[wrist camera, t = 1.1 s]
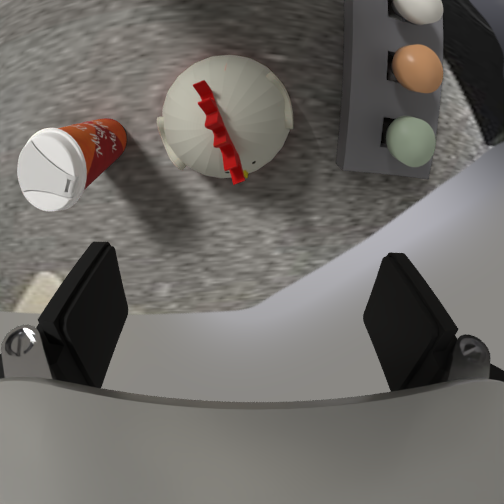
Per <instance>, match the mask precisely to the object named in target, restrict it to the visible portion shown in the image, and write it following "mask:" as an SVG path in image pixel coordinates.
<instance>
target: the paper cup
mask: <svg viewBox="0 0 504 504" xmlns="http://www.w3.org/2000/svg"><path fill="white" fill-rule="evenodd" d="M126 142H127V137H126V133H125V130H124V128H123V127H122V125H121V124H120V123H119V122H117V121H115V120H113V119H98V120H93V121H88V122H83V123H79V124H75V125H70V126H66V127H62V128H58V129H57V128H45V129H42V130H40V131H38V132H36V133H35V134H34V135H33V136H32V137H31V138H30V139H29V140H28V142H27V144H26V145H25V146H24V148H23V149H22V151H21V153H20V155H19V160H18V168H17V174H18V180H19V184H20V187H21V189H22V192H23V194H24V196H25V197H26V198H27V200H28V201H29V202H30V203H31V204H32V205H34V206H35V207H37V208H38V209H41V210H44V211H60V210H65V209H67V208H69V207H71V206H73V205H74V204H75V203H76V202H77V201H78V200H79V198H80V197H81V195H82V193H83V191H84V189H86V188H87V187H88V186H89V185H90V184H91V183H92V182H93V181H94V180H95V179H96V178H97V177H98V176H99V175H100V174H101V173H102V172H103V171H105V170H106V169H107V168H108V167H109V166H110V165H111V164H112V163H113V162H114V161H115V160H116V159H118V158H119V156H120V155H121V154H122V153H123V151H124V149H125V147H126Z"/></svg>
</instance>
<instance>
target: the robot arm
mask: <svg viewBox="0 0 504 504" xmlns="http://www.w3.org/2000/svg"><path fill="white" fill-rule="evenodd" d="M127 315H128V305H127V301H126V297H125V293H124V289H123V284H122V280H121V275H120V271H119V266H118V261H117V256H116V251H115V248H114V247H113V246H111V245H110V243H108V242H93V243H91V245H90V246H89V247H88V249H87V250H86V251H85V252H84V254H83V255H82V256H81V258H80V259H79V260H78V262H77V263H76V264H75V266H74V267H73V269H72V270H71V271H70V273H69V274H68V275H67V277H66V278H65V280H64V281H63V283H62V284H61V285H60V287H59V288H58V290H57V291H56V293H55V294H54V296H53V297H52V299H51V300H50V302H49V303H48V305H47V306H46V308H45V309H44V311H43V312H42V314H41V316H40V317H39V319H38V321H39V324H38V326H37V328H35V327H34V326H31V325H21V326H18V327H16V328H14V329H12V330H11V331H10V332H9V333H7V335H6V336H5V338H4V339H3V342H2V344H1V354H0V504H504V371H503V370H501V369H500V368H498V367H496V366H494V365H492V364H490V353H489V350H488V348H487V346H486V345H485V344H484V343H483V342H482V341H481V340H480V339H478V338H477V337H475V336H472V335H466V334H465V335H461V336H460V337H459V338H458V339H457V338H456V336H455V334H456V332H457V331H458V328H457V326H456V325H455V323H454V322H453V320H452V319H451V317H450V316H449V314H448V313H447V311H446V310H445V308H444V307H443V305H442V304H441V302H440V301H439V299H438V298H437V297H436V295H435V294H434V292H433V291H432V290H431V288H430V287H429V285H428V284H427V283H426V281H425V280H424V279H423V277H422V276H421V274H420V273H419V272H418V270H417V269H416V268H415V267H414V265H413V264H412V263H411V261H410V260H409V259H408V257H407V256H406V255H405V254H404V253H388V255H387V256H386V257H384V258H383V259H382V263H381V265H380V269H379V271H378V275H377V278H376V281H375V284H374V286H373V289H372V292H371V295H370V298H369V301H368V303H367V306H366V309H365V311H364V315H363V320H364V324H365V326H366V329H367V331H368V333H369V336H370V338H371V341H372V343H373V346H374V348H375V351H376V353H377V356H378V359H379V361H380V363H381V366H382V369H383V371H384V374H385V377H386V380H387V382H388V385H389V388H390V390H391V392H387V393H380V394H373V395H365V396H357V397H348V398H338V399H327V400H312V401H294V402H220V401H202V400H187V399H176V398H166V397H157V396H148V395H140V394H134V393H127V392H120V391H114V390H107V389H101V386H102V384H103V381H104V378H105V375H106V372H107V369H108V366H109V363H110V360H111V358H112V355H113V352H114V350H115V347H116V344H117V341H118V339H119V336H120V333H121V331H122V328H123V326H124V323H125V321H126V318H127Z"/></svg>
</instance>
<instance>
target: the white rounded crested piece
mask: <svg viewBox="0 0 504 504" xmlns="http://www.w3.org/2000/svg"><path fill="white" fill-rule="evenodd" d="M157 126H158V130H159V133H160V136H161V139H162V141H163V144H164V146H165V148H166V151H167V153H168V156H169V158H170V160H171V161H172V163H173V164H174V165H175V166H176V167H177V168H178V169H180V170H183V169H184V168H185V167H186V166H188V167H189V168H190V169H192V170H194V171H197V172H199V173H201V174H203V175H205V176H211V177H217V178H232V182H233V185H235V184H237V183H240V182H243V181H245V177H246V178H248V174H249V173H251V172H254V171H257V170H258V169H260V168H261V167H262V166H264V165H265V164H267V163H268V162H270V161H271V160H272V159H273V158H274V157H275V155H276V154H277V153H278V152H279V150H280V149H281V148H282V147H283V145H284V142H285V140H286V138H287V135H288V133H289V131H290V129H293V110H292V104H291V100H290V97H289V95H288V92H287V90H286V88H285V87H284V85H283V84H282V82H281V81H280V79H279V78H278V77H277V76H276V75H275V74H274V73H273V72H272V71H270V70H269V69H268V68H267V67H266V66H264V65H262V64H261V63H259V62H257V61H255V60H252V59H250V58H247V57H242V56H236V55H221V56H212V57H209V58H206V59H204V60H202V61H199V62H197V63H194V64H193V65H192V66H190V67H189V68H188V69H186V70H185V71H184V72H183V73H182V74H180V75H179V76H178V77H177V79H176V80H175V82H174V83H173V85H172V86H171V88H170V89H169V90H168V93H167V96H166V99H165V102H164V105H163V117H158V118H157ZM244 176H245V177H244Z"/></svg>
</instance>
